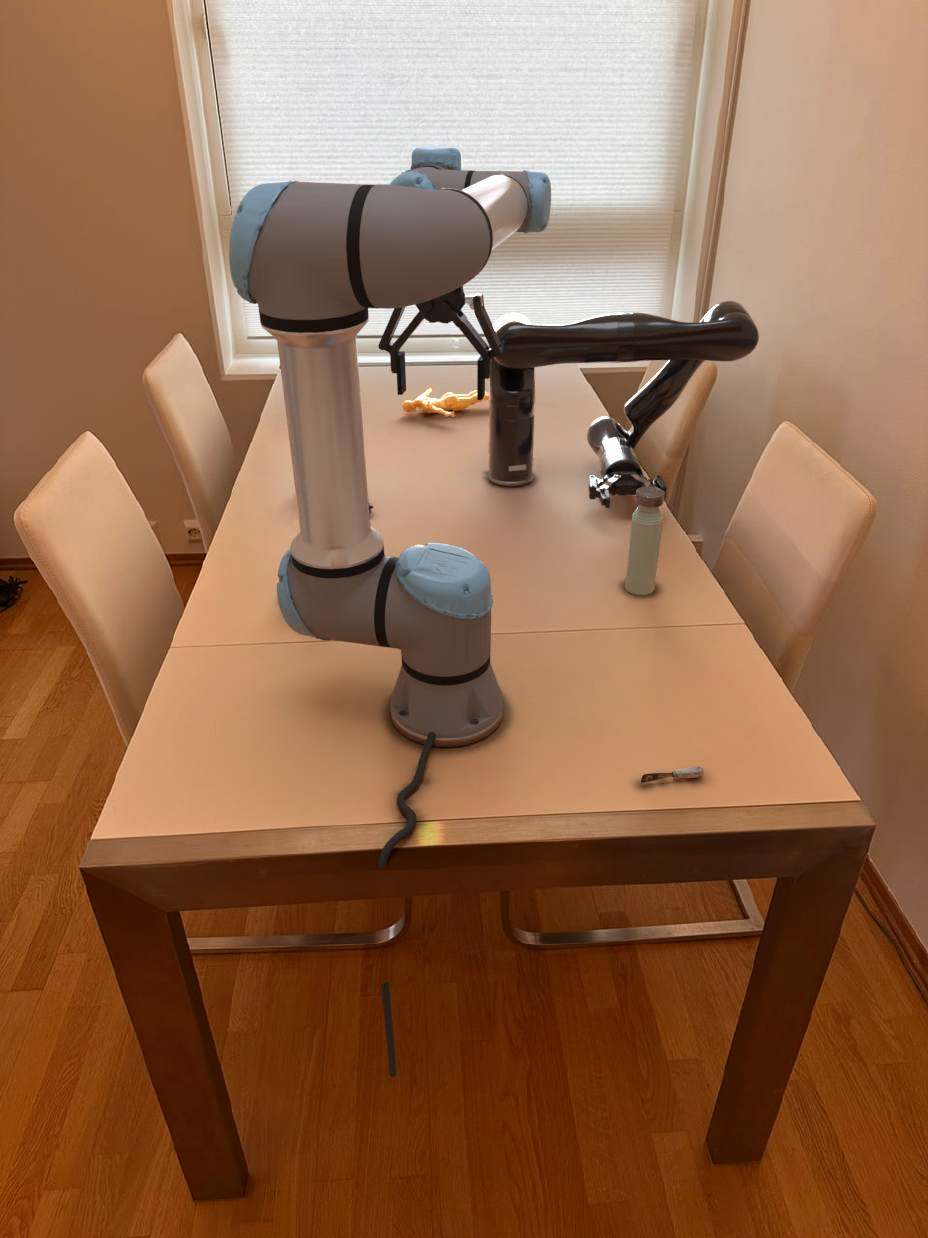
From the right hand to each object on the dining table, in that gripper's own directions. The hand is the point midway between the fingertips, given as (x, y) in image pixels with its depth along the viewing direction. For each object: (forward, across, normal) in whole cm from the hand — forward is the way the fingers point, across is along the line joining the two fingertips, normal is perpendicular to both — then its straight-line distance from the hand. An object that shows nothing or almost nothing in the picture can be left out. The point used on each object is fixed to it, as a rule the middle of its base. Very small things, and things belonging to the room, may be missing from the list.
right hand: (631, 503), depth 162 cm
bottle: (+19, -1, +7) cm, 20 cm away
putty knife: (+66, -3, +7) cm, 67 cm away
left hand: (+3, -34, -21) cm, 40 cm away
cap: (+19, -1, -10) cm, 22 cm away
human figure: (-70, -36, +6) cm, 79 cm away
